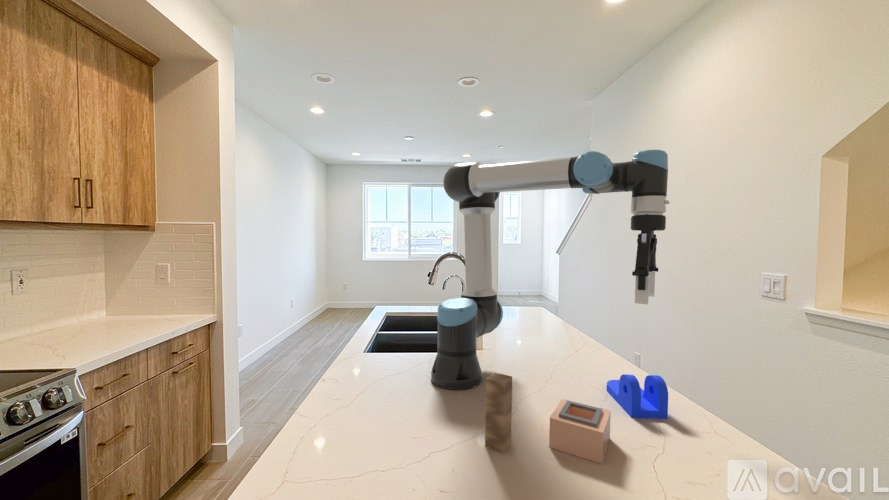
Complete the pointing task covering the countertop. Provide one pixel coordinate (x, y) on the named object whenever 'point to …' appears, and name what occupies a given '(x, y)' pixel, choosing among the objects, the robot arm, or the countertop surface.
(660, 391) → the bracket
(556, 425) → the peach square socket block
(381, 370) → the countertop surface
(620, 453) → the countertop surface
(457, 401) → the countertop surface
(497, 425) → the tall wooden block
